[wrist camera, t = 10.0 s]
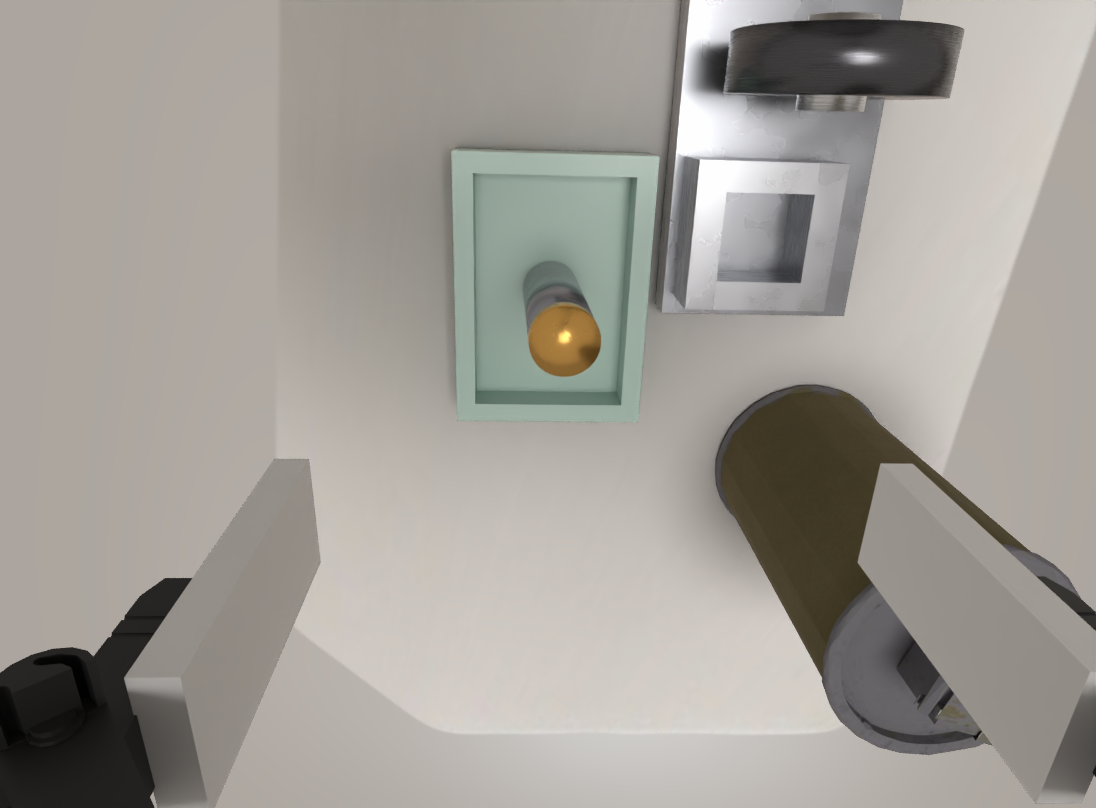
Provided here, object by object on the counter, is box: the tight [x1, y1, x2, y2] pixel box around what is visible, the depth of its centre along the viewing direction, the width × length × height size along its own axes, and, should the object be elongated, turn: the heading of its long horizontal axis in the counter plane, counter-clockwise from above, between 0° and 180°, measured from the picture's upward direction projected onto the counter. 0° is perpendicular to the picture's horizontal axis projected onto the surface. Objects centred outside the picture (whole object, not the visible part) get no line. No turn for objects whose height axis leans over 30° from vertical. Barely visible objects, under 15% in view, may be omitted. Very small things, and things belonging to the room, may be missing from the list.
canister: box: [716, 385, 1081, 755], centre depth 35 cm, size 11×10×20 cm
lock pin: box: [523, 261, 601, 377], centre depth 34 cm, size 3×3×10 cm
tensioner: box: [655, 0, 964, 316], centre depth 33 cm, size 16×10×11 cm, turn 178°
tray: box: [451, 148, 660, 422], centre depth 38 cm, size 14×10×3 cm
